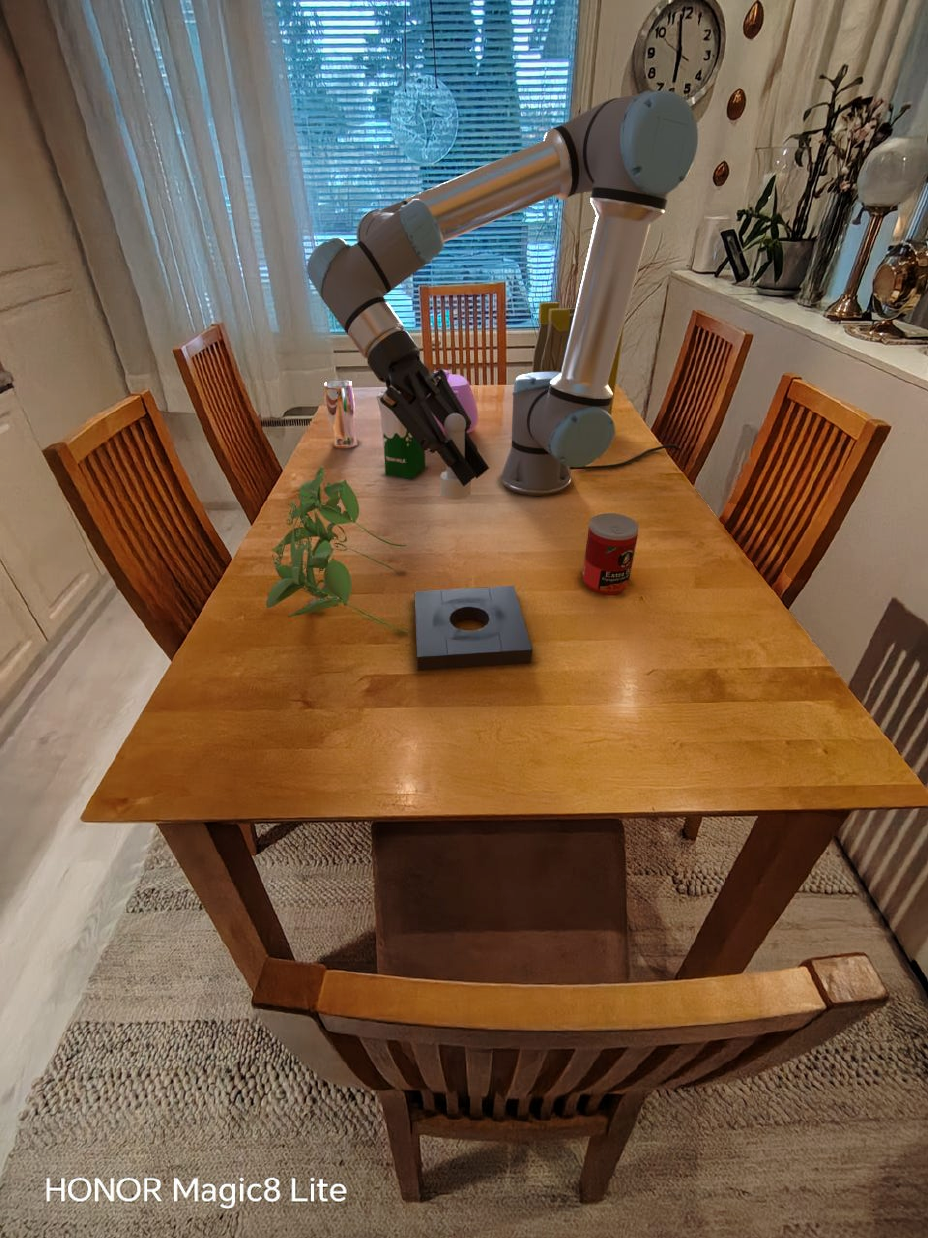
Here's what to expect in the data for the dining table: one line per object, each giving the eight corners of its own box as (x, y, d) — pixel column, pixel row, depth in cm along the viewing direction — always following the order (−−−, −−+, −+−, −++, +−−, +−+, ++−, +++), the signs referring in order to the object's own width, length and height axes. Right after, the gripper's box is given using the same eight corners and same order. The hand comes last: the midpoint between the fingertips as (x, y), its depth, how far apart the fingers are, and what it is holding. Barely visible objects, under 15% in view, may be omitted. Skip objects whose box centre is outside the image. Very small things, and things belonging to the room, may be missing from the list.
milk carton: (430, 466, 139) (426, 378, 127) (413, 481, 132) (408, 389, 120) (397, 461, 141) (390, 374, 129) (379, 476, 135) (370, 385, 123)
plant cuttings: (376, 579, 113) (267, 521, 103) (427, 512, 105) (314, 443, 96) (371, 712, 85) (221, 649, 76) (439, 633, 78) (282, 553, 68)
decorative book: (598, 420, 163) (613, 298, 145) (611, 434, 155) (630, 306, 136) (527, 424, 161) (534, 301, 143) (537, 439, 152) (545, 310, 134)
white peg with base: (469, 486, 96) (469, 407, 88) (472, 499, 92) (472, 418, 84) (440, 487, 96) (438, 408, 88) (441, 500, 92) (439, 419, 84)
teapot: (394, 423, 163) (389, 366, 154) (468, 417, 166) (468, 360, 157) (407, 454, 145) (402, 391, 136) (489, 446, 149) (490, 384, 140)
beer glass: (354, 450, 147) (346, 388, 138) (328, 448, 149) (318, 386, 139) (363, 440, 153) (356, 380, 144) (338, 438, 154) (329, 378, 145)
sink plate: (513, 598, 96) (514, 585, 94) (531, 663, 83) (532, 649, 81) (415, 603, 95) (414, 591, 93) (418, 670, 82) (417, 657, 80)
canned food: (601, 600, 95) (611, 540, 88) (572, 576, 101) (579, 518, 94) (638, 588, 98) (650, 529, 91) (607, 565, 103) (617, 508, 97)
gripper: (407, 351, 95) (490, 472, 98) (336, 373, 85) (431, 507, 87) (432, 318, 90) (519, 448, 92) (359, 337, 79) (460, 482, 82)
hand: (476, 476), depth 90 cm, fingers closed on white peg with base, 3 cm apart
